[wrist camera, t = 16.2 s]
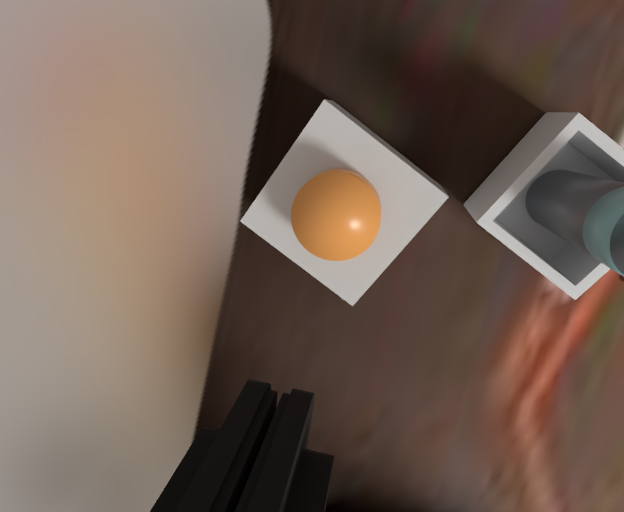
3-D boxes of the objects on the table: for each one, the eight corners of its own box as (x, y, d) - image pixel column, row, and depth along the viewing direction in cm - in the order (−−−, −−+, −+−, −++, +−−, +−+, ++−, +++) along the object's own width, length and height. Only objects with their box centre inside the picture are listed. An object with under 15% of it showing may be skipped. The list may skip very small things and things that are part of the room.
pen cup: (636, 184, 27) (686, 200, 22) (546, 270, 30) (575, 300, 25) (546, 112, 27) (578, 112, 22) (463, 204, 29) (476, 222, 25)
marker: (602, 194, 27) (738, 234, 17) (556, 239, 28) (656, 303, 18) (556, 156, 27) (665, 172, 17) (511, 203, 28) (586, 246, 18)
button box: (441, 185, 29) (448, 197, 25) (357, 283, 32) (352, 306, 29) (333, 100, 29) (324, 99, 25) (258, 208, 32) (240, 221, 28)
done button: (398, 203, 26) (399, 211, 24) (346, 266, 27) (343, 277, 26) (330, 150, 25) (325, 153, 24) (282, 217, 27) (273, 225, 25)
